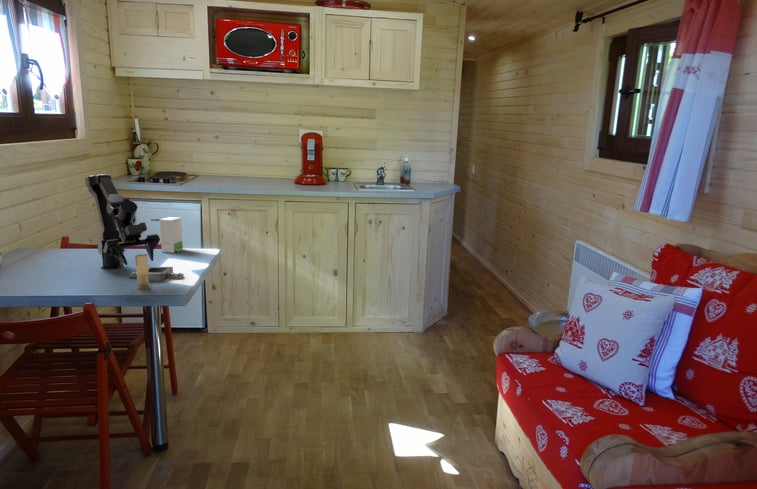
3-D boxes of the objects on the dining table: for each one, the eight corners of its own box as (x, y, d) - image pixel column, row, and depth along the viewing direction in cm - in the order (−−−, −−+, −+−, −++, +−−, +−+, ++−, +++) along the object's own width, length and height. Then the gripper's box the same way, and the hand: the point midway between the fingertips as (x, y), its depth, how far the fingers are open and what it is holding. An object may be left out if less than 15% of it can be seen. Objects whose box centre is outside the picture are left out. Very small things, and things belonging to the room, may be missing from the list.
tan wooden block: (136, 289, 188) (133, 256, 185) (140, 286, 192) (137, 254, 189) (147, 289, 188) (144, 257, 185) (151, 286, 192) (148, 254, 189)
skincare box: (173, 253, 237) (171, 220, 233) (160, 252, 238) (158, 219, 235) (183, 249, 245) (181, 217, 241) (171, 247, 246) (169, 216, 243)
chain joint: (126, 280, 197) (125, 273, 197) (136, 273, 207) (135, 266, 206) (178, 281, 198) (178, 274, 198) (186, 274, 208) (185, 267, 207)
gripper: (103, 218, 182) (117, 254, 177) (156, 213, 195) (170, 246, 190) (98, 236, 190) (111, 271, 185) (149, 230, 202) (163, 262, 197)
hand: (139, 262), depth 189 cm, fingers open, 9 cm apart
